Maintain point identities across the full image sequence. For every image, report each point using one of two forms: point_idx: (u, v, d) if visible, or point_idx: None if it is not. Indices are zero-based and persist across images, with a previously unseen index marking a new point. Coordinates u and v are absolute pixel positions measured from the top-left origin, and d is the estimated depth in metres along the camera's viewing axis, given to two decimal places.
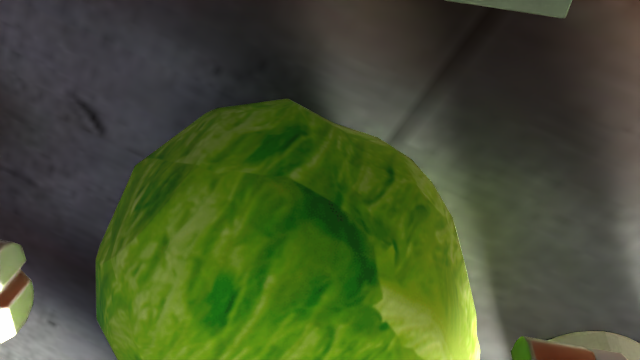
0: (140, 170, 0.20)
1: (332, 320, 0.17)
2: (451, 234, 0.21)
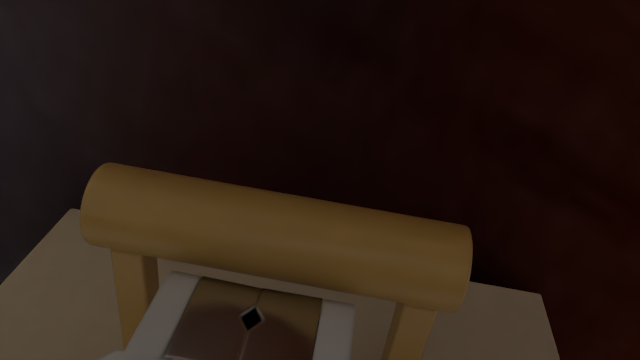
0: None
1: None
2: None
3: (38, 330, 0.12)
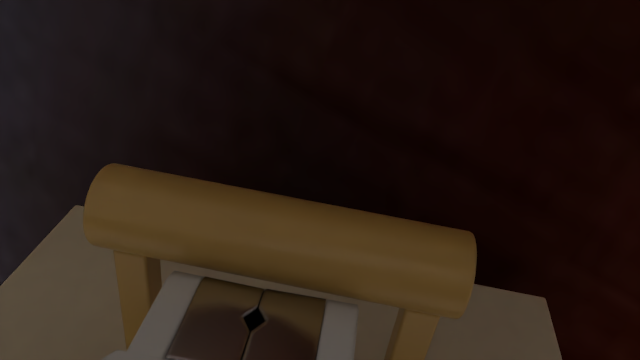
0: None
1: None
2: None
3: (42, 327, 0.12)
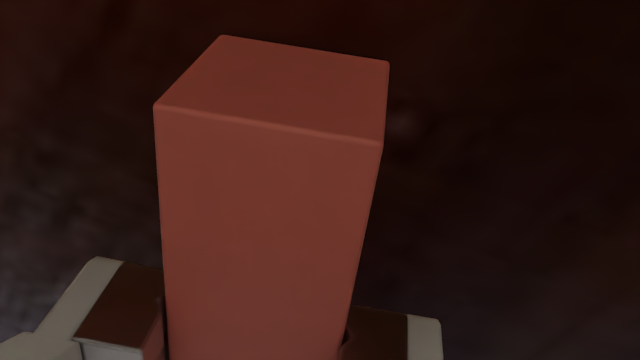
0: None
1: None
2: None
3: None
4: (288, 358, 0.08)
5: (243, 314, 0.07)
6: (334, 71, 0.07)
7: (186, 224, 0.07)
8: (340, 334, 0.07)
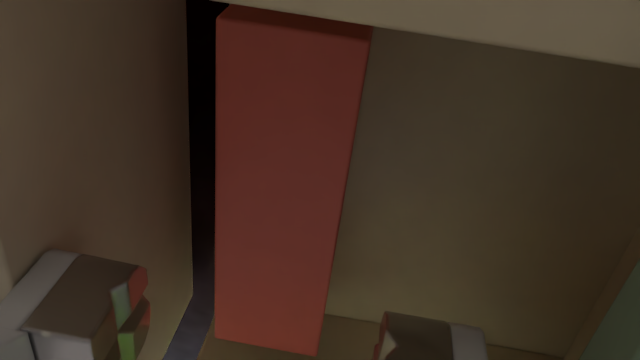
0: None
1: None
2: None
3: None
4: (304, 218, 0.11)
5: (272, 182, 0.10)
6: None
7: (234, 108, 0.10)
8: (342, 195, 0.10)
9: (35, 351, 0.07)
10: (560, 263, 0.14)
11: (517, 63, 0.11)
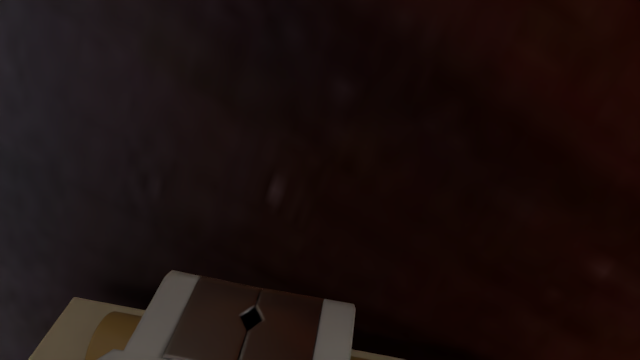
0: None
1: None
2: None
3: None
4: None
5: None
6: None
7: None
8: None
9: None
10: None
11: None
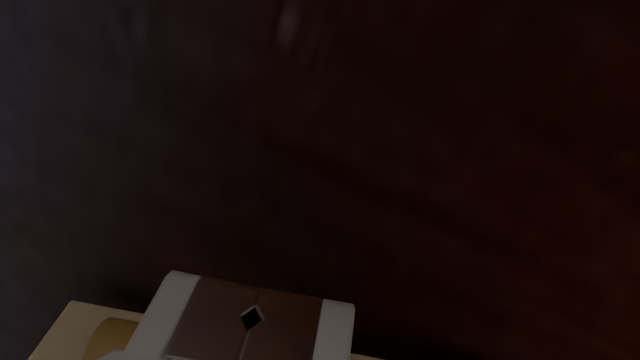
0: None
1: None
2: None
3: None
4: None
5: None
6: None
7: None
8: None
9: None
10: None
11: None
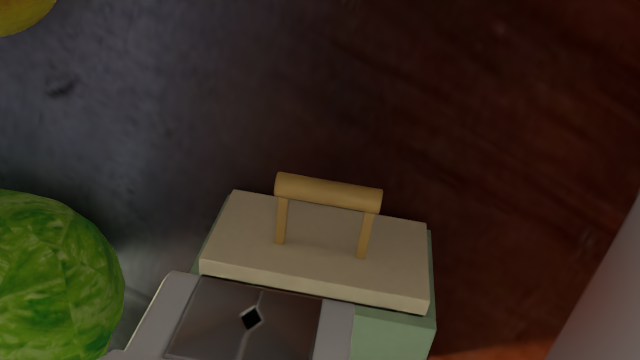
0: (53, 273, 0.31)
1: None
2: None
3: (239, 230, 0.33)
4: (315, 295, 0.36)
5: None
6: None
7: None
8: None
9: None
10: None
11: None
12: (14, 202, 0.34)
